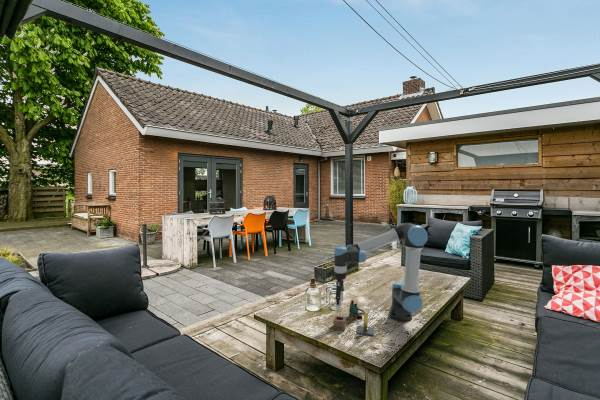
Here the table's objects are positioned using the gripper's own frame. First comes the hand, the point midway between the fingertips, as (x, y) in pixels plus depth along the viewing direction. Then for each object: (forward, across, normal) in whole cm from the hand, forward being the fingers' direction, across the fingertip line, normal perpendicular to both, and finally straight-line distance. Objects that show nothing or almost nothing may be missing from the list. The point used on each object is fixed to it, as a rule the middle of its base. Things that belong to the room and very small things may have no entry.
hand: (339, 305), depth 191 cm
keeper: (+14, 0, +16) cm, 22 cm away
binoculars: (+15, -19, +9) cm, 26 cm away
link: (+14, 0, 0) cm, 15 cm away
